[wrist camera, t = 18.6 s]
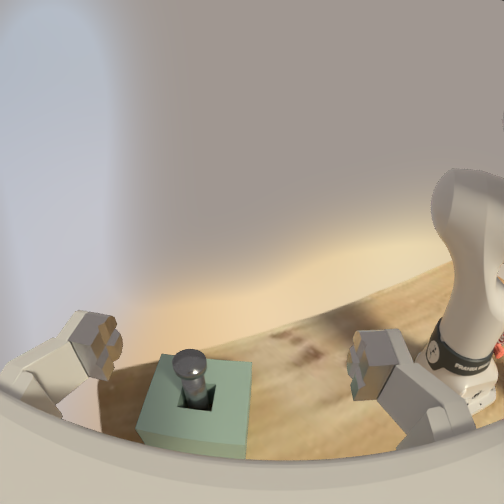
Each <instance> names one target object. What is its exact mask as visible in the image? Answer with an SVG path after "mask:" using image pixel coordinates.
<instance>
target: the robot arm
mask: <svg viewBox="0 0 504 504" xmlns="http://www.w3.org/2000/svg"><path fill="white" fill-rule="evenodd" d="M502 1H504V0H502ZM503 130H504V114H503ZM431 214H432V220H433V224H434V227H435V229H436V231H437V233H438V235H439V237H440V238H441V239H442V241H443V242H444V243H445V245H446V247H447V248H448V250H449V252H450V255H451V258H452V261H453V265H454V274H455V278H454V286H453V290H452V293H451V297H450V300H449V303H448V305H447V308H446V310H445V313H444V315H443V317H442V318H440V320H439V321H438V323H437V325H436V326H435V329H434V331H433V333H432V335H431V337H430V340H429V342H428V343H427V345H426V346H425V348H424V349H423V351H422V352H419V354H418V355H417V357H416V359H415V362H413V360H412V357H411V355H410V352H409V350H408V348H407V345H406V343H405V341H404V339H403V336H402V334H401V332H400V330H399V329H384V330H359V331H356V332H355V333H354V336H353V343H354V345H353V346H352V347H351V348H350V349H349V352H348V355H347V371H348V375H349V376H350V377H351V378H352V379H353V380H352V382H351V385H350V386H351V391H352V396H353V401H363V400H377V402H378V403H379V404H380V405H381V406H382V407H383V408H384V409H385V411H386V412H387V413H388V414H389V415H390V416H391V417H392V419H393V420H394V421H395V422H396V423H397V424H398V425H399V426H400V428H401V429H402V430H403V431H404V432H405V433H406V434H407V436H406V437H405V438H404V439H403V440H402V441H401V442H400V443H399V445H398V446H397V447H396V451H390V452H384V453H378V454H371V455H364V456H356V457H346V458H335V459H321V460H251V459H236V458H225V457H215V456H207V455H199V454H192V453H186V452H180V451H174V450H169V449H164V448H159V447H154V446H149V445H145V444H141V443H137V442H133V441H129V440H125V439H121V438H118V437H114V436H111V435H107V434H104V433H101V432H97V431H94V430H91V429H88V428H85V427H82V426H80V425H77V424H74V423H71V422H69V421H66V420H63V419H62V417H63V416H62V413H61V412H60V411H59V410H58V408H57V407H56V406H55V405H56V404H57V403H59V402H60V401H61V400H62V399H63V398H65V397H66V396H67V395H68V394H70V393H71V392H72V391H73V390H75V389H76V388H77V387H78V386H79V385H81V384H82V383H83V382H84V381H85V380H87V379H88V378H89V377H92V378H96V379H100V380H105V381H108V380H109V378H110V376H111V374H112V372H113V370H114V368H115V367H114V364H113V362H114V361H116V360H117V359H119V357H120V355H121V353H122V347H123V342H122V337H121V334H120V333H119V332H118V331H117V330H116V329H115V328H116V326H117V323H116V320H115V317H113V316H110V315H104V314H99V313H94V312H87V311H81V310H78V311H75V313H74V314H73V315H72V317H71V318H70V319H69V321H68V322H67V323H66V325H65V326H64V327H63V329H62V330H61V332H60V333H59V334H58V336H57V337H56V338H51V339H49V340H47V341H46V342H44V343H42V344H40V345H38V346H37V347H35V348H33V349H31V350H29V351H28V352H26V353H24V354H22V355H20V356H19V357H17V358H15V359H13V360H12V361H10V362H8V363H7V364H6V366H5V367H4V369H3V370H2V372H1V373H0V504H504V419H502V420H499V421H497V422H494V423H492V424H489V425H486V426H484V427H481V428H478V429H476V426H475V424H474V421H473V418H472V416H473V415H474V414H476V413H478V412H479V411H481V410H483V409H484V408H486V407H488V406H489V405H491V404H492V403H493V402H494V401H495V399H496V390H495V386H494V385H495V384H496V382H497V380H498V370H497V367H496V364H495V362H494V360H493V358H492V355H493V353H494V354H495V357H496V358H497V359H498V358H500V357H501V356H503V354H504V348H503V347H502V346H501V344H500V343H499V344H497V342H498V340H499V338H500V336H501V335H502V333H503V331H504V284H503V283H502V282H501V281H500V280H499V279H498V277H497V274H498V271H499V268H500V267H501V265H502V264H504V178H502V177H499V176H496V175H493V174H490V173H488V172H484V171H480V170H471V169H454V168H453V169H451V170H449V171H448V172H446V173H445V174H444V175H443V176H442V177H441V179H440V180H439V181H438V183H437V185H436V187H435V189H434V192H433V195H432V200H431Z"/></svg>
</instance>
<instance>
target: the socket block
mask: <svg viewBox="0 0 504 504" xmlns="http://www.w3.org/2000/svg"><path fill="white" fill-rule="evenodd" d="M174 356H175V355H167V354H161V357H160V360H159V362H158V365H157V368H156V371H155V373H154V376H153V379H152V382H151V384H150V387H149V390H148V393H147V396H146V398H145V401H144V404H143V407H142V410H141V413H140V416H139V419H138V422H137V425H136V428H135V429H136V431H137V432H138V434H139V436H140V437H141V439H142V440H143V442H144V443H145V445H149V446H154V447H159V448H164V449H169V450H174V451H180V452H186V453H192V454H199V455H207V456H215V457H225V458H236V459H245V457H246V446H247V434H248V422H249V410H250V397H251V385H252V362H241V361H226V360H214V359H206V361H207V371H206V373H205V374H204V377H205V383H206V388H207V394H208V399H209V404H213V406H212V411H203V410H195V409H188V403H187V399H186V396H185V392H184V389H183V385H182V381H181V378H179V377H178V376H177V375H176V374H175V372H174V369H173V365H172V360H173V357H174Z"/></svg>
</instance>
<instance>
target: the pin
mask: <svg viewBox="0 0 504 504" xmlns="http://www.w3.org/2000/svg"><path fill="white" fill-rule="evenodd" d="M172 365H173V369H174V372H175V374H176V375H177V376H178V377H179V378H181V381H182V385H183V389H184V392H185V396H186V399H187V403H188V406H189V409H195V410H203V411H211V410H210V405H209V399H208V394H207V388H206V383H205V377H204V374H205V373H206V371H207V361H206V357H205V355H204V354H203V353H202V352H200V351H198V350H195V349H185V350H182V351H180V352H178V353H177V354H176V355H175V356H174V357H173V360H172Z"/></svg>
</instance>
